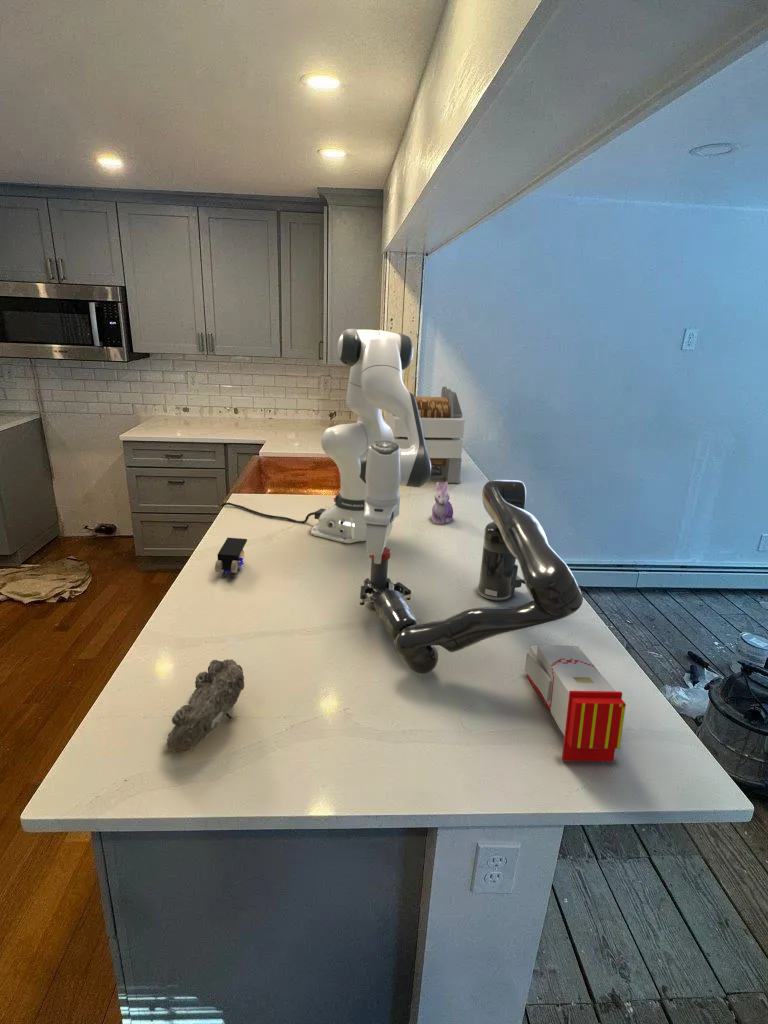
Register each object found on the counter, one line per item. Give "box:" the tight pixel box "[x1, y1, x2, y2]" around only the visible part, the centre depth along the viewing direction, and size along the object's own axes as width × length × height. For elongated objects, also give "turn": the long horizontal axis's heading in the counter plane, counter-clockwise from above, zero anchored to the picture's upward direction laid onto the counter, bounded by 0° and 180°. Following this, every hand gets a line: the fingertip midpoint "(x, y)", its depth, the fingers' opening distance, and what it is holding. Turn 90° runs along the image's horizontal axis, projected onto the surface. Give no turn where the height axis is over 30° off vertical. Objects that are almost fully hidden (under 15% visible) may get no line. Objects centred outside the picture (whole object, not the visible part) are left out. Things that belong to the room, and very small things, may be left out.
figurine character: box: [214, 537, 248, 578], centre depth 166 cm, size 7×8×15 cm
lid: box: [368, 546, 392, 561], centre depth 146 cm, size 6×6×2 cm
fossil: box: [166, 658, 245, 754], centre depth 106 cm, size 22×10×15 cm
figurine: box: [430, 480, 454, 525], centre depth 212 cm, size 9×10×15 cm
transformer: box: [385, 386, 465, 484], centre depth 268 cm, size 34×33×41 cm
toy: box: [524, 644, 626, 762], centre depth 112 cm, size 12×13×30 cm
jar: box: [368, 558, 389, 610], centre depth 149 cm, size 4×4×15 cm
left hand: (379, 557), depth 146 cm, fingers closed on lid, 5 cm apart
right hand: (375, 580), depth 152 cm, fingers closed on jar, 4 cm apart
